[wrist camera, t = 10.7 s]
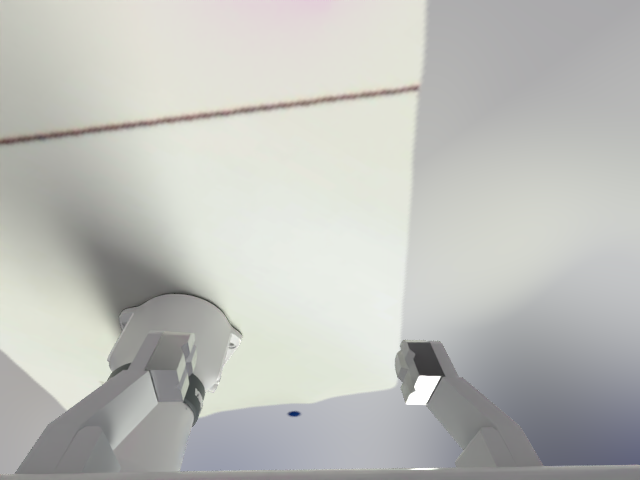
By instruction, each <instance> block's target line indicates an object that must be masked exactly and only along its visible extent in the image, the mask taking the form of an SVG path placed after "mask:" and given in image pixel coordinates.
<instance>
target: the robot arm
mask: <svg viewBox="0 0 640 480" xmlns="http://www.w3.org/2000/svg"><path fill="white" fill-rule="evenodd" d="M119 321H120V325H121V330H122V333H121V334H120V336H119V338H118V340H117V341H116V343H115V345H114V347H113V349H112V351H111V352H110V354H109V356H108V360H107V361H108V362H109V367H110V369H111V371H112V373H111V375H110V377H109V378H108V380H107V382H105V383H104V384H103V385H102V386H100V387H99V388H98V389H96V390H95V391H94V392H92V393H91V394H89V395H88V396H87V397H85V398H84V399H83V400H81V401H80V402H78V403H77V404H76V405H74V406H73V407H72V408H70V409H69V410H68V411H66V412H65V413H64V414H62V415H61V416H59V417H58V418H57V419H55V420H54V421H53V422H51V423H50V424H48V426H47V427H46V429H45V430H44V431H43V433H42V434H41V436H40V437H39V439H38V440H37V442H36V443H35V445H34V446H33V447H32V449H31V450H30V452H29V453H28V455H27V456H26V458H25V459H24V461H23V462H22V463H21V465H20V466H19V468H18V469H17V471H16V472H15V474H0V480H640V465H599V466H543V464H542V462H541V461H540V459H539V457H538V456H537V454H536V452H535V451H534V449H533V448H532V446H531V444H530V442H529V440H528V439H527V437H526V435H525V434H524V432H523V430H522V429H521V427H520V426H519V425H518V424H517V423H516V422H514V421H513V420H512V419H511V418H510V417H508V416H507V415H506V414H505V413H504V412H503V411H501V410H500V409H499V408H498V407H497V406H495V405H494V404H493V403H492V402H491V401H490V400H489V399H487V398H486V397H485V396H484V395H483V394H481V393H480V392H479V391H478V390H477V389H475V388H474V387H473V386H472V385H471V384H470V383H469V382H467V381H466V380H465V379H464V378H463V377H459V376H458V374H457V372H456V370H455V368H454V366H453V364H452V362H451V360H450V358H449V356H448V354H447V352H446V350H445V348H444V346H443V344H442V343H441V342H440V341H426V340H403V341H402V342H401V345H400V347H401V351H399V352H398V353H397V355H396V358H395V370H396V374H397V377H398V378H399V379H400V380H401V381H402V382H403V383H402V386H401V390H402V393H403V397H404V400H405V403H406V404H417V405H427V407H428V409H429V410H430V411H431V412H432V413H433V414H434V416H435V417H436V418H437V419H438V421H439V422H440V423H441V424H442V425H443V426H444V428H445V429H446V430H447V431H448V432H449V434H450V435H451V436H452V437H453V438H454V440H455V441H456V442H457V443H458V444H459V446H460V447H461V448H462V449H463V450H464V451H463V452H462V453H461V455H460V456H459V457H458V459H457V460H456V462H455V465H456V467H457V468H399V469H398V468H395V469H394V468H392V469H328V470H327V469H322V470H257V471H256V470H252V471H189V472H188V471H186V472H185V471H183V472H180V468H181V464H182V460H183V457H184V453H185V450H186V446H187V442H188V438H189V435H190V432H191V428H192V427H193V426H194V425H195V423H196V421H197V419H198V416H199V414H200V412H201V409H202V406H203V400H204V396H205V393H206V392H211V393H214V392H215V390H216V388H217V386H218V384H219V382H220V379H221V373H222V370H223V366H224V365H225V364H226V362H227V361H228V360H229V358H230V357H231V356H232V354H233V353H234V352H235V350H236V349H237V348H238V346H239V345H240V344H241V341H242V338H243V337H242V335H241V334H240V333H239V332H238V331H237V330H236V329H234V328H233V327H232V326H231V325H230V323H229V321H228V320H227V318H226V316H225V315H224V314H223V313H222V312H221V311H220V310H219V309H218V308H217V307H216V306H214V305H213V304H211V303H209V302H207V301H205V300H203V299H201V298H198V297H194V296H190V295H184V294H166V295H161V296H157V297H154V298H152V299H150V300H148V301H147V302H145V303H144V304H142V305H141V306H138V307H133V308H128V309H125V310H123V311H122V312H121V314H120V316H119Z"/></svg>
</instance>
